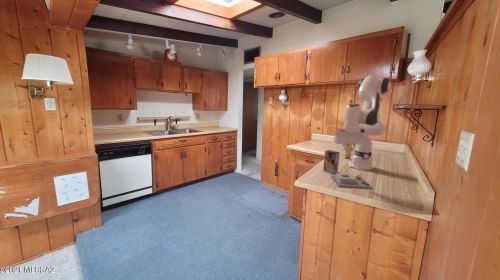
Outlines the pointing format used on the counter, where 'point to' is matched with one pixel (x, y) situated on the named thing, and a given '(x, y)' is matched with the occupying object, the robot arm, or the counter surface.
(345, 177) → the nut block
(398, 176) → the counter surface
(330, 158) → the coffee box
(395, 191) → the counter surface
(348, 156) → the pin
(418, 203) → the counter surface
